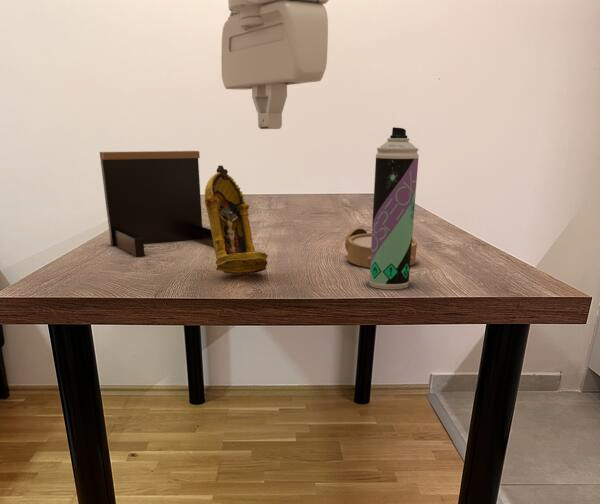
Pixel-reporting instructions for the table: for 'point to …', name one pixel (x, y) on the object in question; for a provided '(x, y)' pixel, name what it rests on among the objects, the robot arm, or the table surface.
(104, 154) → the black display stand
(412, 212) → the spray can
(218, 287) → the table surface
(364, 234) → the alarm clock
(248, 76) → the robot arm
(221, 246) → the shrine
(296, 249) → the table surface
